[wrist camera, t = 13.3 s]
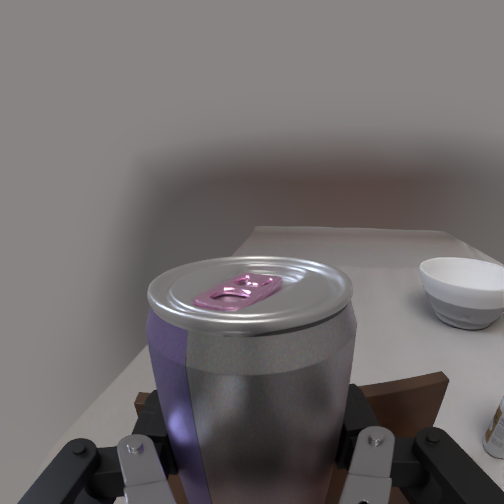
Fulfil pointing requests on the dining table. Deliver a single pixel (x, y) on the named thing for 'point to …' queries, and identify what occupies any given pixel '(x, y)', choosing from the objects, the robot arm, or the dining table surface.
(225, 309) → the beverage can
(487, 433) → the pill bottle
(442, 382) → the wooden stand
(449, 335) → the dining table surface
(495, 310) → the bowl
